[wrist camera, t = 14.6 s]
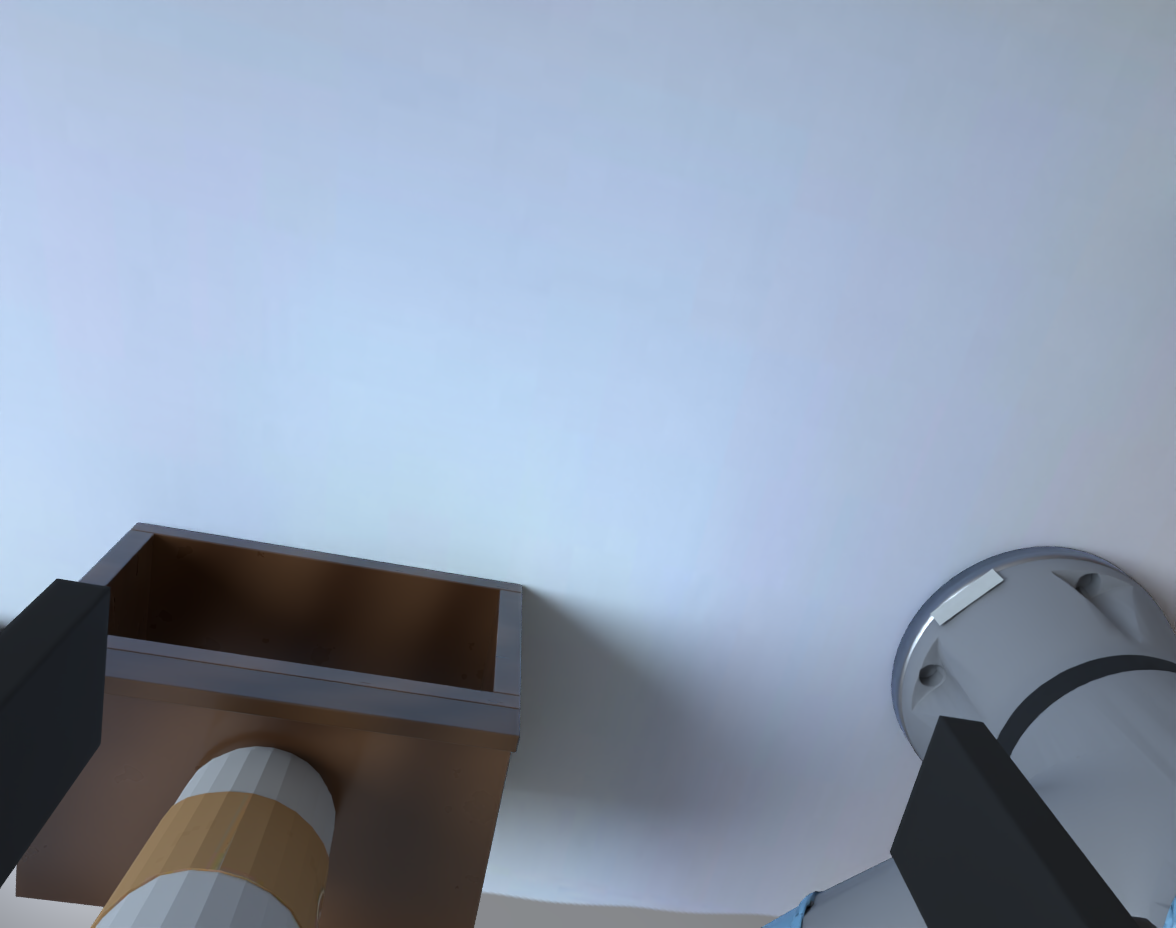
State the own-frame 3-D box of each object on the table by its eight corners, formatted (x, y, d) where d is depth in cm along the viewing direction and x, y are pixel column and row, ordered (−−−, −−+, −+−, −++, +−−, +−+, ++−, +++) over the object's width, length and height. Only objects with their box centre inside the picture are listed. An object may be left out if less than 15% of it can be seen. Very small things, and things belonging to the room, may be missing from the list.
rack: (522, 584, 53) (519, 736, 40) (481, 786, 57) (466, 986, 44) (137, 521, 51) (-3, 661, 37) (122, 736, 55) (-9, 931, 41)
